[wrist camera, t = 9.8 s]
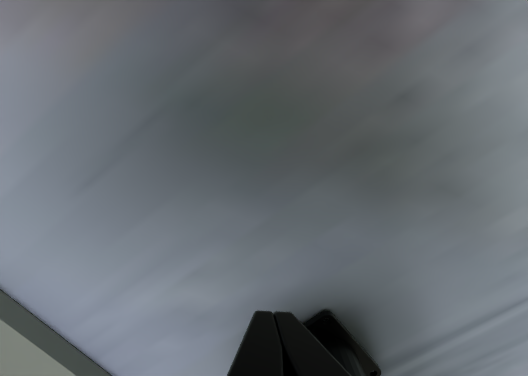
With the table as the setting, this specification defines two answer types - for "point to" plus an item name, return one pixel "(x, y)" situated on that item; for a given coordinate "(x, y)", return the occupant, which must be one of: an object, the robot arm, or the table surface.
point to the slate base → (37, 347)
